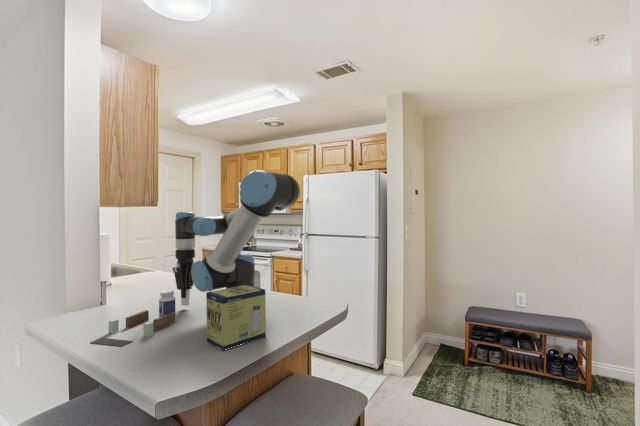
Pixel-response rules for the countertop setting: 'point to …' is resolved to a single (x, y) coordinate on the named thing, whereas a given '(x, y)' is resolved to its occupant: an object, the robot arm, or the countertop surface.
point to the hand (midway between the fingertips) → (185, 305)
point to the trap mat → (111, 342)
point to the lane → (144, 316)
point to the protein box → (235, 316)
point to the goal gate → (147, 327)
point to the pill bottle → (166, 303)
